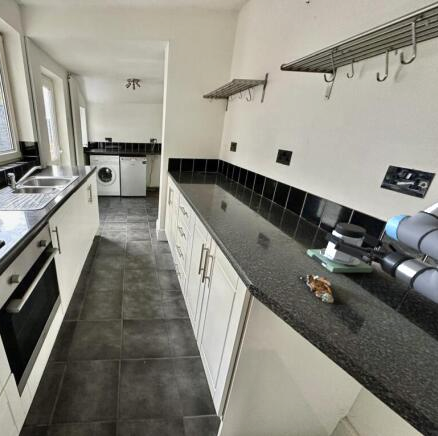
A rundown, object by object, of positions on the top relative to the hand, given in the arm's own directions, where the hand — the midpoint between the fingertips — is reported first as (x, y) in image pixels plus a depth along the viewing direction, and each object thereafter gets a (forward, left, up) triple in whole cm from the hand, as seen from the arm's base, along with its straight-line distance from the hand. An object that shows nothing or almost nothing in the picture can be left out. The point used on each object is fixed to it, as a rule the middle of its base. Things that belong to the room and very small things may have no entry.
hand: (344, 235), depth 86 cm
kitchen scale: (0, +1, -11) cm, 11 cm away
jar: (0, +1, -8) cm, 8 cm away
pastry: (+19, +17, -12) cm, 28 cm away
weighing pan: (0, +1, -9) cm, 9 cm away
